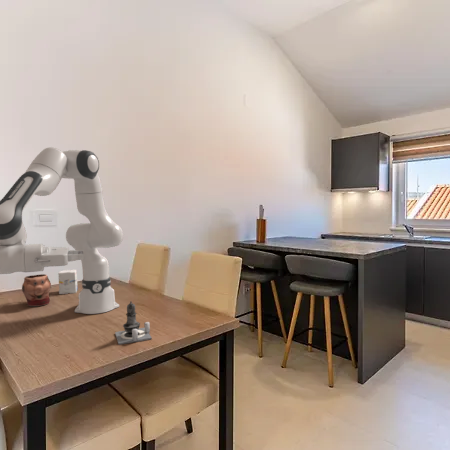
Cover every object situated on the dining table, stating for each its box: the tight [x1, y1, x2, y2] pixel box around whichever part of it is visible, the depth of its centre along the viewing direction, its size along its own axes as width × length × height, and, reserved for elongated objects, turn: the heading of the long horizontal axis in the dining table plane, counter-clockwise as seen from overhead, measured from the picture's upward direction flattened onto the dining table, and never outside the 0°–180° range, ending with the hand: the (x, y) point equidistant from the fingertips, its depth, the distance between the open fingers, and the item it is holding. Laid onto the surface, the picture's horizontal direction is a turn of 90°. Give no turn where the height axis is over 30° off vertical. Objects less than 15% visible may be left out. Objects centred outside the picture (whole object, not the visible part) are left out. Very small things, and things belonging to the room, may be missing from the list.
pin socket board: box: [114, 321, 153, 345], centre depth 120 cm, size 12×11×4 cm
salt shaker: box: [122, 301, 141, 337], centre depth 119 cm, size 6×6×12 cm
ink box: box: [57, 269, 78, 295], centre depth 186 cm, size 9×8×12 cm
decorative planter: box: [21, 273, 52, 307], centre depth 164 cm, size 20×12×14 cm, turn 43°
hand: (83, 254), depth 114 cm, fingers open, 8 cm apart
